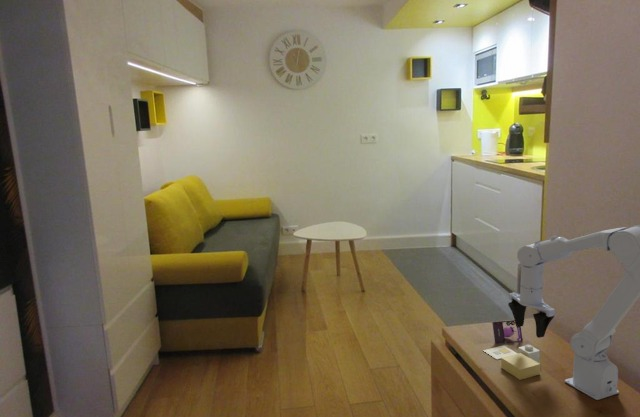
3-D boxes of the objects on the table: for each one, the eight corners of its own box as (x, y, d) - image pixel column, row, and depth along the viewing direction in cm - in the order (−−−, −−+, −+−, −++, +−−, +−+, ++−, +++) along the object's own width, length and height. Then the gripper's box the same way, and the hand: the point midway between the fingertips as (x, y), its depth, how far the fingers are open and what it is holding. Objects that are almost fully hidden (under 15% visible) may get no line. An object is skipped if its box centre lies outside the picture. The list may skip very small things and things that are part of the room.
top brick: (539, 363, 129) (539, 347, 129) (528, 366, 128) (529, 350, 127) (528, 357, 133) (529, 342, 132) (517, 360, 132) (518, 344, 131)
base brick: (539, 374, 124) (540, 364, 123) (520, 379, 121) (520, 369, 121) (520, 362, 130) (520, 352, 130) (501, 367, 128) (501, 357, 127)
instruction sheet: (518, 354, 135) (518, 353, 135) (496, 359, 132) (496, 358, 132) (503, 345, 140) (503, 344, 140) (482, 351, 138) (482, 350, 138)
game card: (493, 322, 142) (520, 320, 143) (486, 321, 148) (512, 318, 148) (496, 344, 141) (524, 341, 142) (489, 342, 146) (515, 340, 147)
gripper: (564, 291, 121) (561, 338, 124) (522, 276, 135) (521, 319, 137) (544, 295, 119) (542, 343, 121) (504, 280, 133) (502, 323, 135)
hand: (529, 331), depth 129 cm, fingers open, 7 cm apart
